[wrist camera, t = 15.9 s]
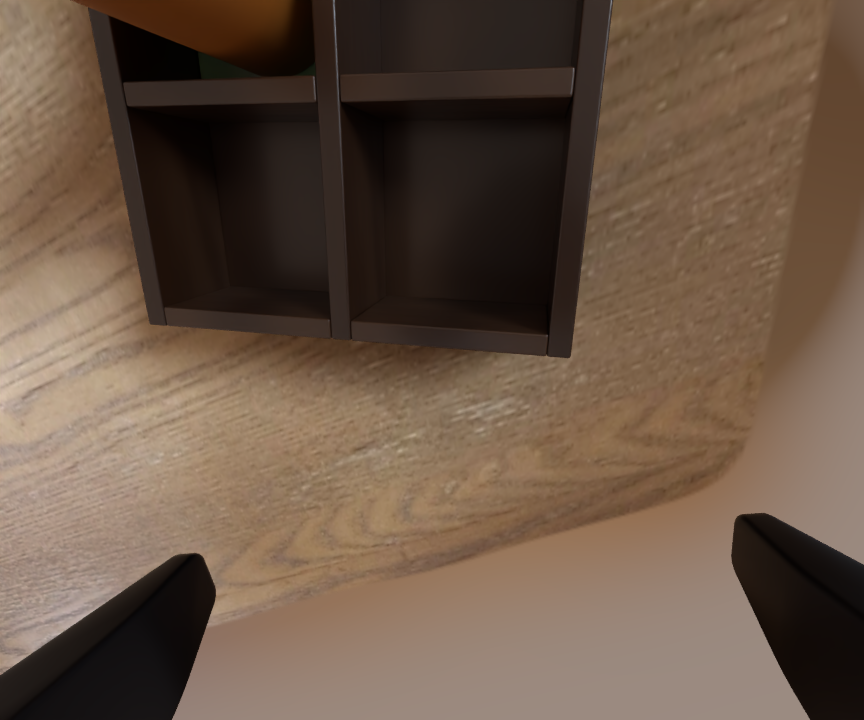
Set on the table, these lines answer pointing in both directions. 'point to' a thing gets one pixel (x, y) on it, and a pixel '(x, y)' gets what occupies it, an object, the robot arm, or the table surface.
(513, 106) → the rack
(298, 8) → the amber bottle
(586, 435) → the table surface
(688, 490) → the table surface
